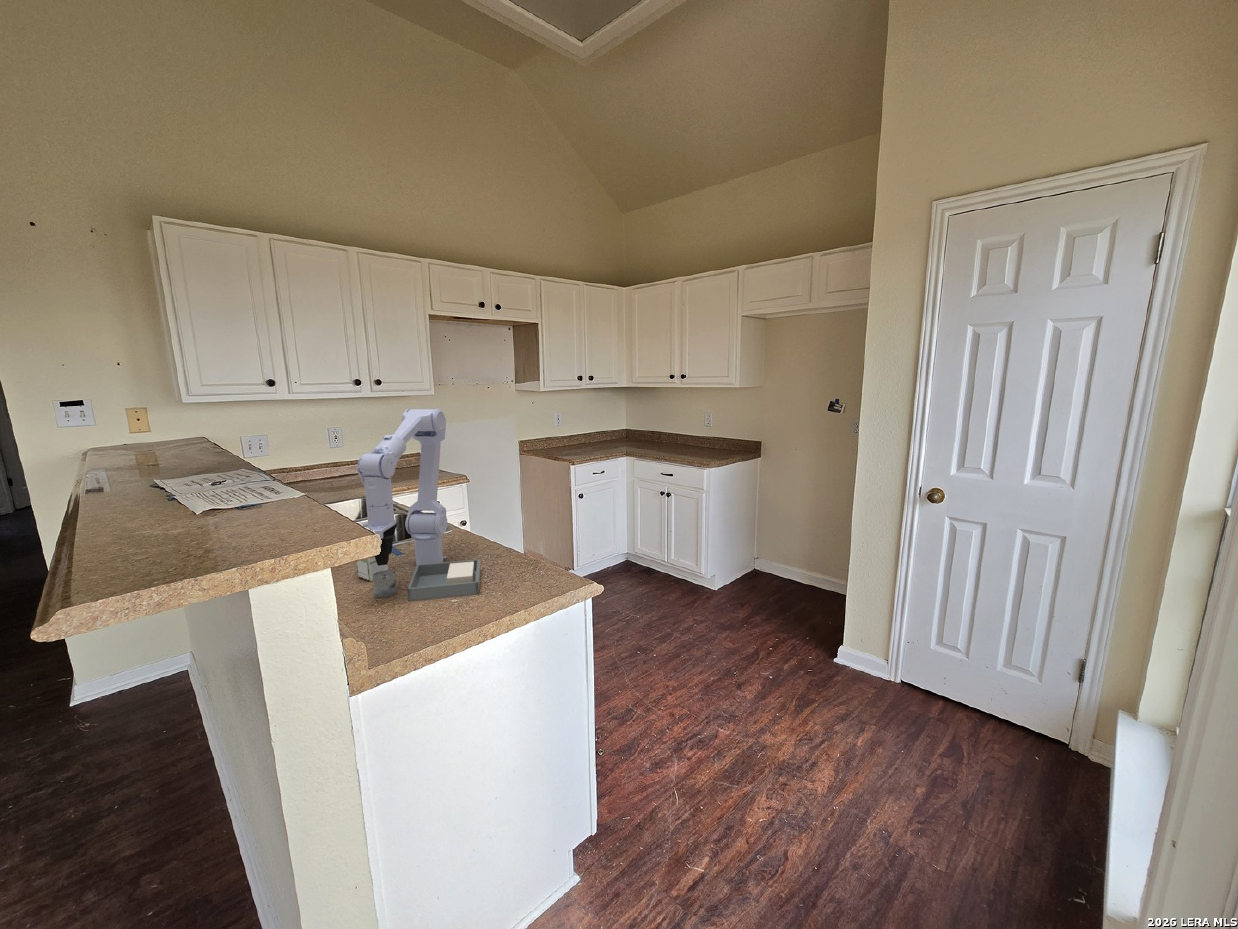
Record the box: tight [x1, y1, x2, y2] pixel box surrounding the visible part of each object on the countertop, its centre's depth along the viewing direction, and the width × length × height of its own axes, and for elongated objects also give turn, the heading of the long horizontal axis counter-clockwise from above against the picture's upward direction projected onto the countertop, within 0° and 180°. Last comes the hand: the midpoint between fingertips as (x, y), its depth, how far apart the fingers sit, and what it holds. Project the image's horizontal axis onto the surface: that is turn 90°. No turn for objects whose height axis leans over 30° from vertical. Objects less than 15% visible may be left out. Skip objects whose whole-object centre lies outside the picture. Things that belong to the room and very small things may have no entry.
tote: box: [406, 558, 481, 602], centre depth 132 cm, size 16×16×4 cm
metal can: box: [372, 569, 398, 599], centre depth 126 cm, size 5×5×6 cm
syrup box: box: [355, 521, 389, 582], centre depth 139 cm, size 6×6×14 cm
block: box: [447, 562, 475, 584], centre depth 132 cm, size 10×6×4 cm, turn 13°
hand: (384, 559), depth 125 cm, fingers open, 7 cm apart
